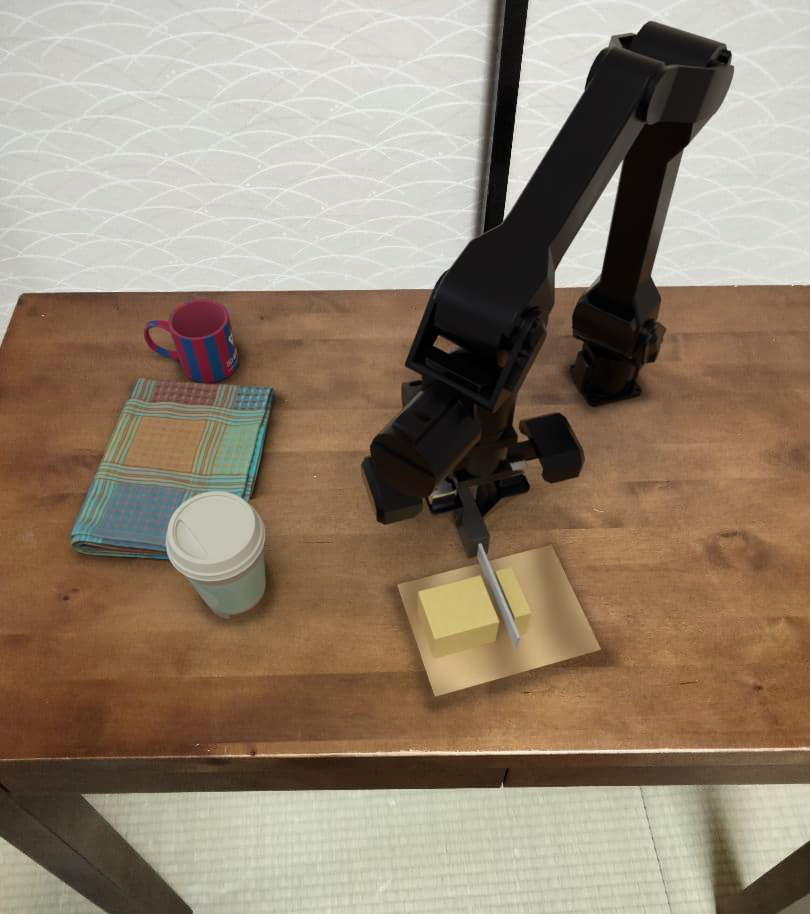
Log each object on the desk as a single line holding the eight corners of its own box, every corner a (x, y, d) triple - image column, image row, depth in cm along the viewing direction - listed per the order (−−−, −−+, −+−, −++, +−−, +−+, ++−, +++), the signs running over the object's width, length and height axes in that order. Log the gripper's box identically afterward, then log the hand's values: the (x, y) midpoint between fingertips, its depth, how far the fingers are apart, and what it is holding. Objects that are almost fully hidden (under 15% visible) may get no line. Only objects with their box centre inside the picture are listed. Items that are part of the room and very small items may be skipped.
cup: (231, 386, 95) (220, 342, 89) (148, 379, 95) (131, 334, 90) (244, 346, 98) (234, 301, 93) (164, 339, 99) (149, 294, 93)
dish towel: (69, 556, 82) (60, 542, 80) (134, 386, 95) (128, 370, 93) (237, 570, 81) (232, 556, 79) (280, 396, 94) (277, 381, 92)
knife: (464, 496, 80) (465, 477, 78) (526, 646, 71) (531, 630, 69) (444, 501, 80) (445, 482, 78) (505, 651, 71) (508, 636, 69)
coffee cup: (194, 559, 82) (164, 489, 71) (280, 552, 82) (262, 482, 72) (190, 636, 77) (157, 573, 67) (280, 629, 77) (261, 565, 67)
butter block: (477, 596, 78) (480, 574, 74) (495, 641, 75) (499, 621, 72) (417, 612, 77) (417, 591, 73) (433, 659, 74) (434, 639, 71)
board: (549, 552, 82) (551, 544, 81) (598, 656, 76) (601, 649, 74) (397, 592, 80) (396, 584, 78) (434, 703, 73) (434, 696, 72)
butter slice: (507, 588, 78) (511, 566, 75) (526, 633, 75) (531, 612, 72) (491, 592, 78) (495, 570, 74) (510, 637, 75) (514, 617, 72)
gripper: (549, 318, 70) (527, 437, 83) (339, 363, 67) (350, 479, 80) (603, 411, 64) (570, 523, 77) (375, 465, 61) (381, 571, 75)
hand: (466, 521), depth 78 cm, fingers closed on knife, 2 cm apart
